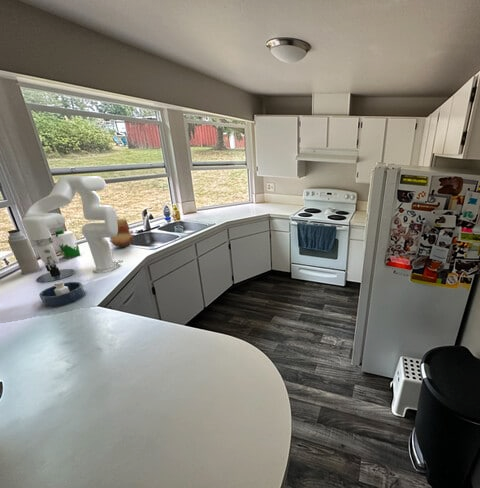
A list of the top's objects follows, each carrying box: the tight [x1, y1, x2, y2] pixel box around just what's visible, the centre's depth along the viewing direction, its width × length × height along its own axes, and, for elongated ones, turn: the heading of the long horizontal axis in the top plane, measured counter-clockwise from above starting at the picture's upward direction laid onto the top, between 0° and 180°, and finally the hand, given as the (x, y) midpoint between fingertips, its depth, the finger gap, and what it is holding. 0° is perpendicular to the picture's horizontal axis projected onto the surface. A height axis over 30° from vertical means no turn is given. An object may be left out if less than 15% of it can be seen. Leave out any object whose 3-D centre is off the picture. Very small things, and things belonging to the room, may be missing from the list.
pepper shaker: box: [53, 280, 70, 296], centre depth 131 cm, size 4×4×10 cm
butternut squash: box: [110, 215, 134, 248], centre depth 200 cm, size 14×13×25 cm
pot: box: [38, 281, 86, 308], centre depth 132 cm, size 16×16×6 cm
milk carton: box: [54, 229, 81, 259], centre depth 182 cm, size 9×9×20 cm
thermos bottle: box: [7, 228, 41, 275], centre depth 156 cm, size 8×8×28 cm
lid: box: [36, 268, 76, 283], centre depth 154 cm, size 17×17×7 cm
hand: (54, 273), depth 128 cm, fingers open, 9 cm apart
